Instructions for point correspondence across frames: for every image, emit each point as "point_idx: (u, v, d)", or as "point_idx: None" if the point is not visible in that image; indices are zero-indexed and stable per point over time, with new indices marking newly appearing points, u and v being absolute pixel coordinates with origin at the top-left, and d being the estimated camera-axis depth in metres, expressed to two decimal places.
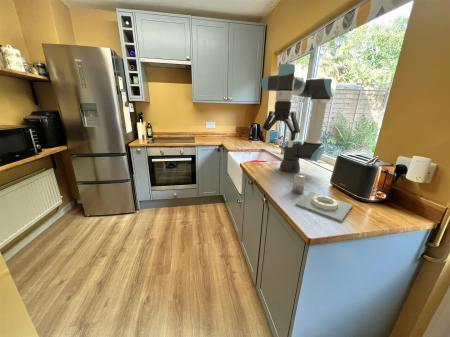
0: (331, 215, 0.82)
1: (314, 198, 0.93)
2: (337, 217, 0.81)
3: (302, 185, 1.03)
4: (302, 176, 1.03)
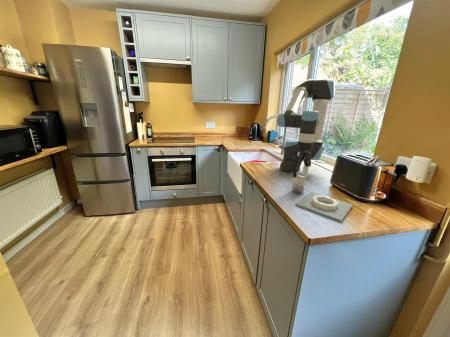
0: (331, 215, 0.82)
1: (314, 198, 0.93)
2: (337, 217, 0.81)
3: (302, 185, 1.03)
4: (302, 176, 1.03)
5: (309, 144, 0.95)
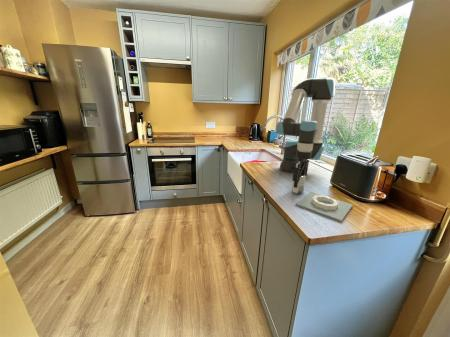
0: (331, 215, 0.82)
1: (314, 198, 0.93)
2: (337, 217, 0.81)
3: (302, 185, 1.03)
4: (302, 176, 1.03)
5: (307, 153, 0.96)
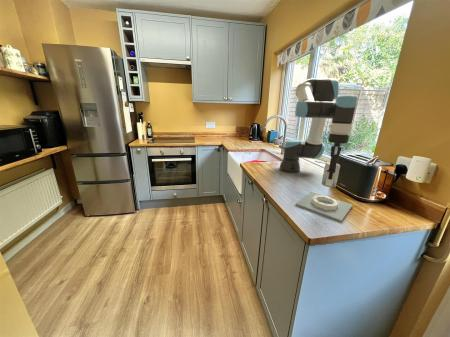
0: (331, 215, 0.82)
1: (314, 198, 0.93)
2: (337, 217, 0.81)
3: (337, 176, 0.85)
4: (336, 165, 0.85)
5: (346, 136, 0.79)
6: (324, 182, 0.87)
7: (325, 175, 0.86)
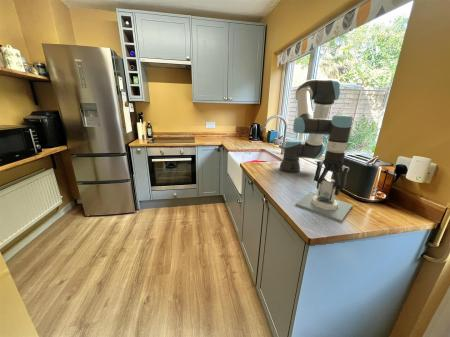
0: (331, 215, 0.82)
1: (314, 198, 0.93)
2: (337, 217, 0.81)
3: None
4: (331, 180, 0.89)
5: None
6: (329, 199, 0.88)
7: (330, 192, 0.87)
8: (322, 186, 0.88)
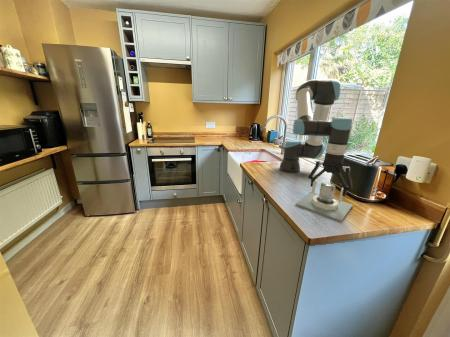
0: (331, 215, 0.82)
1: (314, 198, 0.93)
2: (337, 217, 0.81)
3: None
4: (330, 184, 0.90)
5: None
6: None
7: (329, 197, 0.88)
8: (322, 191, 0.89)
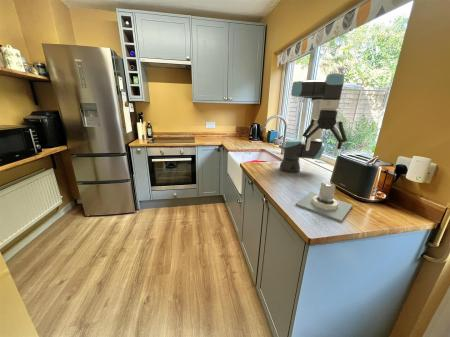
0: (331, 215, 0.82)
1: (314, 198, 0.93)
2: (337, 217, 0.81)
3: None
4: (330, 184, 0.90)
5: None
6: None
7: (329, 197, 0.88)
8: (322, 191, 0.89)
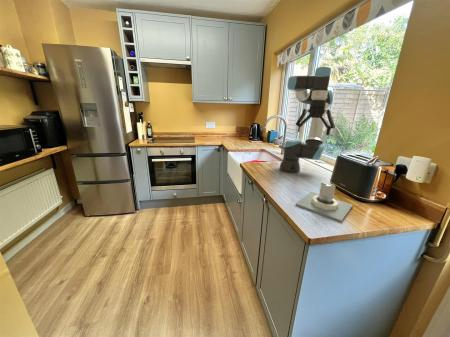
0: (331, 215, 0.82)
1: (314, 198, 0.93)
2: (337, 217, 0.81)
3: None
4: (330, 184, 0.90)
5: None
6: None
7: (329, 197, 0.88)
8: (322, 191, 0.89)
